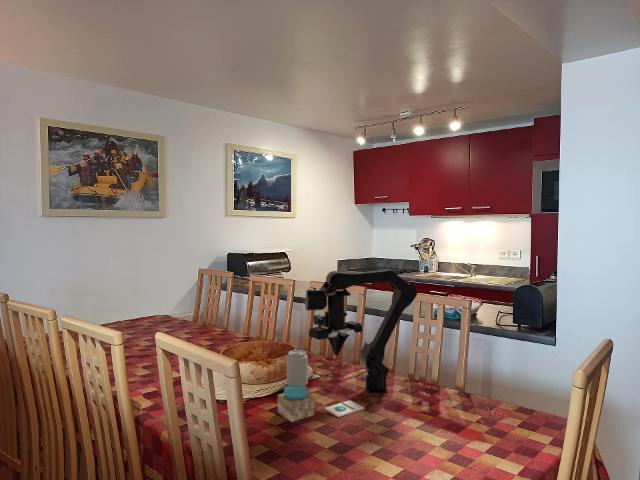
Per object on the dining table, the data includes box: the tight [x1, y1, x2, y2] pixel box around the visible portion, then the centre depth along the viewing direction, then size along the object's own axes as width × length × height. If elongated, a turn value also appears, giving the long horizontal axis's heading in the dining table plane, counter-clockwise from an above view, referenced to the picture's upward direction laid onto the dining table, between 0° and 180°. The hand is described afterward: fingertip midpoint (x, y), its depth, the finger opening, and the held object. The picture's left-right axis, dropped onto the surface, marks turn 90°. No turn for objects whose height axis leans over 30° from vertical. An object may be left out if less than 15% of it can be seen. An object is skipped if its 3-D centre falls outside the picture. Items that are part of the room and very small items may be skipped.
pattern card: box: [324, 399, 365, 418], centre depth 141 cm, size 10×7×1 cm
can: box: [286, 349, 309, 387], centre depth 162 cm, size 8×8×12 cm
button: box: [283, 385, 308, 400], centre depth 138 cm, size 7×7×5 cm
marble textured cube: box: [277, 392, 315, 423], centre depth 138 cm, size 8×8×6 cm
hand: (336, 355), depth 153 cm, fingers closed
